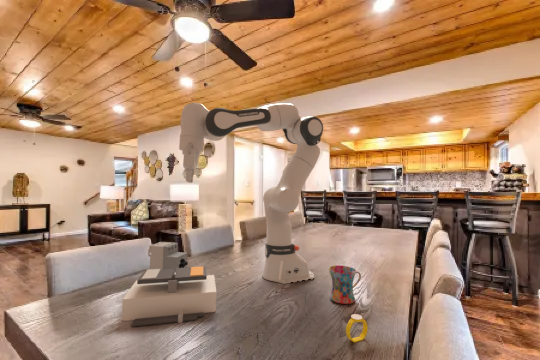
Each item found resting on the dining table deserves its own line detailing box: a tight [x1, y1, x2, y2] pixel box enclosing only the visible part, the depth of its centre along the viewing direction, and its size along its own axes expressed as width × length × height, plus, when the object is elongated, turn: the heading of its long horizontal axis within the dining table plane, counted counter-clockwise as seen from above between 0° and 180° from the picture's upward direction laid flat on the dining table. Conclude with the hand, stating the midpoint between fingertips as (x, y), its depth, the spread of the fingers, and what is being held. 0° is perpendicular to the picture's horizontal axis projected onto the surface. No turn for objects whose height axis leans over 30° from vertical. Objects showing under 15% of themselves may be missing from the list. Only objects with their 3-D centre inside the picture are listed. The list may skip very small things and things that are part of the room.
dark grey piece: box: [131, 311, 205, 328], centre depth 73 cm, size 19×3×2 cm, turn 104°
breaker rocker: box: [136, 265, 207, 284], centre depth 84 cm, size 20×10×2 cm, turn 104°
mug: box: [328, 264, 362, 305], centre depth 89 cm, size 12×9×11 cm
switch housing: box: [121, 274, 217, 322], centre depth 84 cm, size 26×16×10 cm, turn 104°
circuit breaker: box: [147, 241, 189, 269], centre depth 103 cm, size 8×14×15 cm, turn 78°
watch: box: [345, 313, 369, 344], centre depth 65 cm, size 6×3×6 cm, turn 114°
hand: (189, 182), depth 97 cm, fingers open, 8 cm apart
